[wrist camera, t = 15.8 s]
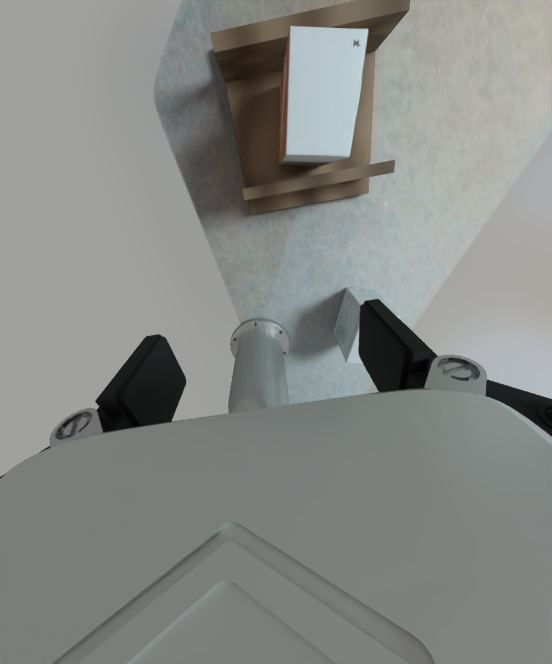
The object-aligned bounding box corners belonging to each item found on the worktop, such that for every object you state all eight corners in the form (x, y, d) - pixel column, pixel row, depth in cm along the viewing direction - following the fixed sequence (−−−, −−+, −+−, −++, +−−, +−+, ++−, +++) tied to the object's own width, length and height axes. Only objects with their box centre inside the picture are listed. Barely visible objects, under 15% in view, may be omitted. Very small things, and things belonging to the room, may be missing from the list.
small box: (278, 85, 28) (288, 20, 17) (330, 87, 29) (372, 24, 18) (277, 166, 33) (284, 156, 22) (322, 167, 33) (351, 157, 22)
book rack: (372, 12, 27) (415, -58, 19) (364, 192, 36) (391, 194, 29) (219, 46, 27) (202, -8, 20) (251, 213, 37) (248, 221, 29)
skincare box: (344, 286, 44) (364, 311, 36) (376, 289, 45) (404, 315, 36) (331, 332, 50) (345, 364, 41) (359, 334, 51) (380, 366, 42)
